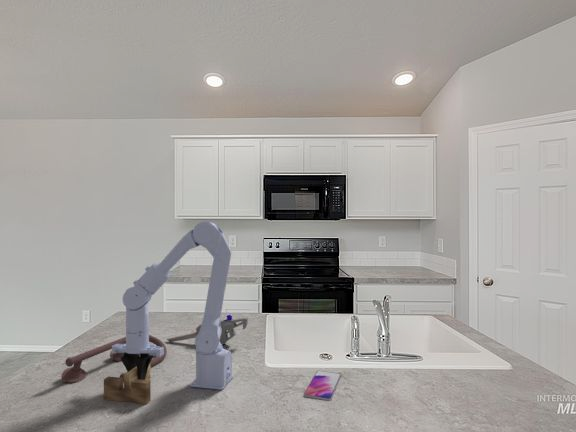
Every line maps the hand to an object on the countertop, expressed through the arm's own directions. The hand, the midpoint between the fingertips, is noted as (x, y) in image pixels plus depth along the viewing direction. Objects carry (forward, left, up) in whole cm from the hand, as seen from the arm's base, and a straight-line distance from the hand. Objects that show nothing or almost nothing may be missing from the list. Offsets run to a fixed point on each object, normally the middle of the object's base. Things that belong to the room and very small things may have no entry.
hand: (137, 380), depth 93 cm
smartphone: (-49, -10, -2) cm, 50 cm away
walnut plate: (-2, +7, -1) cm, 7 cm away
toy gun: (-4, -34, -2) cm, 34 cm away
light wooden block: (0, 0, -1) cm, 1 cm away
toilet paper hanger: (+13, -10, -2) cm, 16 cm away
